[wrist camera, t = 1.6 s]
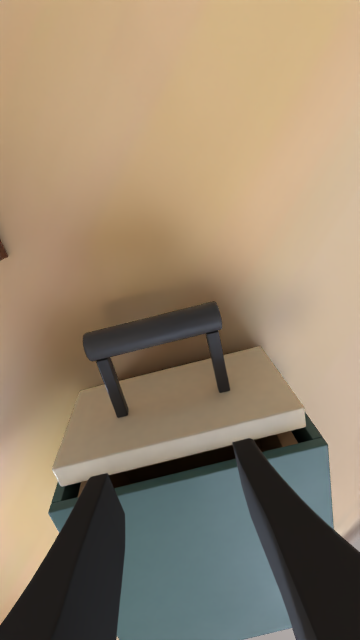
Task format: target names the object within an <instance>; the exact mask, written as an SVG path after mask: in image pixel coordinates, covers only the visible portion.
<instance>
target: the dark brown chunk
mask: <svg viewBox="0 0 360 640" xmlns="http://www.w3.org/2000/svg"><path fill="white" fill-rule="evenodd" d="M6 257H8V256H7V254H6V251H5V249H4V247H3V244H2V242H1V240H0V260H2V259H4V258H6Z"/></svg>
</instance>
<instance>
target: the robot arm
mask: <svg viewBox="0 0 360 640" xmlns="http://www.w3.org/2000/svg"><path fill="white" fill-rule="evenodd" d="M232 444H233V448H234V453H235V457H236V462H237V467H238V471H239V476H240V480H241V485H242V489H243V492H244V495H245V499H246V502H247V506H248V509H249V512H250V516H251V519H252V521H253V524H254V526H255V529H256V532H257V534H258V537H259V539H260V542H261V544H262V547H263V549H264V552H265V555H266V557H267V560H268V562H269V565H270V567H271V570H272V572H273V575H274V578H275V580H276V583H277V585H278V588H279V590H280V593H281V596H282V598H283V601H284V604H285V607H286V610H287V612H288V616H289V619H290V622H291V625H292V628H293V631H294V635H295V638H296V640H360V552H359V551H358V550H356V549H355V548H354V547H353V546H352V545H351V544H349V543H348V542H347V541H346V540H345V539H344V538H342V537H341V536H340V535H339V534H338V533H337V532H336V531H335V530H333V529H332V528H331V527H330V526H329V525H328V524H327V523H326V522H325V521H324V520H323V519H322V518H321V517H319V516H318V515H317V514H316V513H315V512H314V511H313V510H312V509H311V508H310V507H309V506H308V505H307V504H306V503H305V502H304V501H303V500H302V499H301V498H300V497H299V495H298V494H297V493H296V492H295V491H294V490H293V489H292V488H291V487H290V486H289V485H288V483H287V482H286V481H285V480H284V479H283V478H282V477H281V476H280V475H279V473H278V472H277V471H276V470H275V469H274V467H273V466H272V465H271V464H270V462H269V461H268V460H267V459H266V457H265V456H264V455H263V453H262V452H261V451H260V449H259V448H258V446H257V445H256V443H255V442H254V440H253V439H251V438H247V439H243V440H239V441H235V442H232ZM124 556H125V512H124V510H123V508H122V505H121V503H120V501H119V499H118V496H117V494H116V492H115V489H114V487H113V485H112V482H111V480H110V478H109V475H108V473H105V474H100V475H96V476H92V477H90V478H89V479H88V481H87V483H86V485H85V487H84V489H83V490H82V492H81V494H80V496H79V498H78V500H77V502H76V504H75V506H74V507H73V509H72V511H71V513H70V515H69V517H68V519H67V520H66V522H65V524H64V526H63V528H62V529H61V531H60V533H59V535H58V536H57V538H56V540H55V542H54V543H53V545H52V547H51V549H50V550H49V552H48V554H47V555H46V557H45V558H44V560H43V562H42V563H41V565H40V567H39V568H38V570H37V571H36V573H35V575H34V576H33V578H32V580H31V581H30V583H29V584H28V586H27V587H26V589H25V590H24V592H23V593H22V595H21V596H20V598H19V599H18V601H17V602H16V604H15V605H14V607H13V608H12V609H11V611H10V612H9V614H8V615H7V617H6V618H5V619H4V621H3V622H2V624H1V625H0V640H116V637H117V626H118V616H119V606H120V597H121V587H122V577H123V567H124Z"/></svg>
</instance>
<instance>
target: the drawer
mask: <svg viewBox="0 0 360 640" xmlns="http://www.w3.org/2000/svg"><path fill="white" fill-rule="evenodd" d="M221 329H222V320H221V315H220V311H219V308H218V305H217V303H216V302H214V301H213V302H209V303H205V304H201V305H197V306H193V307H189V308H185V309H181V310H177V311H173V312H169V313H165V314H161V315H157V316H153V317H149V318H145V319H141V320H137V321H132V322H128V323H124V324H120V325H116V326H112V327H108V328H104V329H100V330H96V331H92V332H88V333H85V334H84V336H83V346H84V350H85V353H86V356H87V358H88V359H89V360H90V361H96V360H97V361H96V363H97V366H98V368H99V371H100V374H101V376H102V379H103V381H104V384H105V385H101V386H96V387H92V388H88V389H84V390H81V391H79V394H78V397H77V400H76V403H75V406H74V408H73V411H72V414H71V417H70V420H69V422H68V425H67V428H66V431H65V434H64V437H63V439H62V442H61V445H60V448H59V451H58V453H57V456H56V459H55V462H54V465H53V468H52V470H53V472H54V474H55V476H56V478H57V480H58V482H59V484H60V486H62V487H63V486H67V485H71V484H75V483H79V482H81V485H80V489H79V494H78V497H79V496H80V494H81V492H82V490H83V489H84V487H85V485H86V483H87V481H88V479H89V478H90V477H92V476H96V475H100V474H105V473H108V475H109V478H110V480H111V482H112V485H113V487H114V488H117V487H121V486H126V485H130V484H134V483H138V482H142V481H146V480H150V479H154V478H158V477H162V476H166V475H170V474H175V473H179V472H183V471H187V470H191V469H195V468H199V467H203V466H207V465H211V464H215V463H220V462H224V461H228V460H232V459H236V457H235V453H234V448H233V444H232V442H235V441H239V440H243V439H247V438H251V439H253V440H254V442H255V443H256V445H257V446H258V448H259V449H260V451H261V452H264V451H269V450H273V449H277V448H281V447H285V446H289V445H293V444H297V443H298V442H297V440H296V439H295V437H294V435H293V433H292V432H291V431H292V430H296V429H300V428H304V427H306V420H305V410H304V406H303V405H302V404H301V402H300V401H299V399H298V398H297V397H296V395H295V394H294V392H293V391H292V390H291V388H290V387H289V385H288V384H287V383H286V381H285V380H284V378H283V377H282V376H281V374H280V373H279V371H278V370H277V369H276V367H275V366H274V364H273V363H272V362H271V360H270V359H269V357H268V356H267V355H266V353H265V352H264V350H263V349H262V348H261V346H259V347H255V348H251V349H246V350H242V351H238V352H234V353H230V354H226V355H223V351H222V346H221V341H220V336H219V332H218V330H221ZM205 333H206V338H207V342H208V347H209V351H210V356H211V358H210V359H206V360H202V361H198V362H194V363H190V364H186V365H182V366H178V367H174V368H169V369H165V370H161V371H157V372H153V373H149V374H145V375H141V376H137V377H133V378H129V379H125V380H121V381H118V378H117V375H116V372H115V369H114V367H113V364H112V361H111V358H110V357H112V356H116V355H120V354H124V353H128V352H132V351H136V350H140V349H145V348H149V347H153V346H157V345H161V344H165V343H169V342H173V341H177V340H181V339H185V338H189V337H193V336H197V335H201V334H205Z"/></svg>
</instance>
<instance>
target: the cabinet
mask: <svg viewBox="0 0 360 640" xmlns="http://www.w3.org/2000/svg"><path fill="white" fill-rule="evenodd" d="M305 420H306V427H304V428H300V429H296V430H292V431H291V432H292V433H293V435H294V437H295V439H296V440H297V442H298V443H297V444H293V445H289V446H285V447H281V448H277V449H273V450H269V451H264V452H262V453H263V455H264V456H265V457H266V459H267V460H268V461H269V462H270V464H271V465H272V466H273V467H274V469H275V470H276V471H277V472H278V473H279V475H280V476H281V477H282V478H283V479H284V480H285V481H286V482H287V483H288V485H289V486H290V487H291V488H292V489H293V490H294V491H295V492H296V493H297V494H298V495H299V497H300V498H301V499H302V500H303V501H304V502H305V503H306V504H307V505H308V506H309V507H310V508H311V509H312V510H313V511H314V512H315V513H316V514H317V515H318V516H319V517H321V518H322V519H323V520H324V521H325V522H326V523H327V524H328V525H329V526H330V527H331V528H332V529H333V530H334V527H333V512H332V498H331V483H330V469H329V454H328V444H327V443H326V441H325V440H324V438H322V436H321V434H320V433H319V431H318V430H317V428H316V427H315V426H314V424H313V423H312V421H311V420H310V418H309V417H308V416H307V414H306V413H305ZM80 485H81V482H79V483H75V484H71V485H67V486H63V487H62V486H60V484H59V482H58V483H57V487H56V490H55V493H54V496H53V499H52V504H51V505H50V509H49V512H48V513H49V515H50V517H51V519H52V521H53V522H54V524H55V526H56V528H57V530H58V531H59V533H60V531H61V529H62V528H63V526H64V524H65V522H66V520H67V519H68V517H69V515H70V513H71V511H72V509H73V507H74V506H75V504H76V502H77V500H78V498H79V497H78V494H79V489H80ZM114 489H115V492H116V494H117V496H118V499H119V501H120V503H121V505H122V508H123V510H124V512H125V556H124V567H123V577H122V587H121V597H120V606H119V616H118V626H117V636H118V638H119V640H244V639H248V638H252V637H256V636H260V635H264V634H269V633H273V632H277V631H281V630H285V629H289V628H292V625H291V622H290V619H289V616H288V612H287V610H286V607H285V604H284V601H283V598H282V596H281V593H280V590H279V588H278V585H277V583H276V580H275V578H274V575H273V572H272V570H271V567H270V565H269V562H268V560H267V557H266V555H265V552H264V549H263V547H262V544H261V542H260V539H259V537H258V534H257V532H256V529H255V526H254V524H253V521H252V519H251V516H250V512H249V509H248V506H247V502H246V499H245V495H244V492H243V489H242V485H241V480H240V476H239V471H238V467H237V462H236V459H232V460H228V461H224V462H220V463H215V464H211V465H207V466H203V467H199V468H195V469H191V470H187V471H183V472H179V473H175V474H170V475H166V476H162V477H158V478H154V479H150V480H146V481H142V482H138V483H134V484H130V485H126V486H121V487H117V488H114Z"/></svg>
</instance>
